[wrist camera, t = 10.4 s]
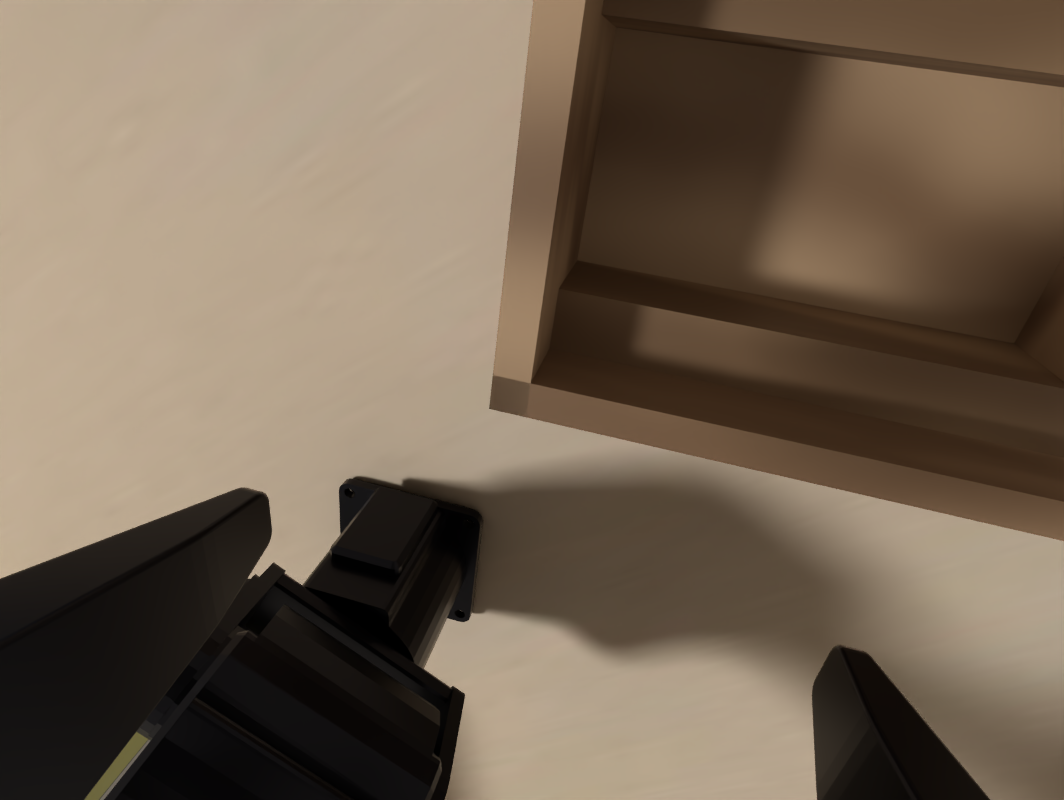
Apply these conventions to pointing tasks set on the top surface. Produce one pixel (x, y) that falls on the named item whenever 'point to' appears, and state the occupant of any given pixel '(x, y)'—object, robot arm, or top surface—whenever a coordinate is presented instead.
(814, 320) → the walnut box
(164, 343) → the top surface
